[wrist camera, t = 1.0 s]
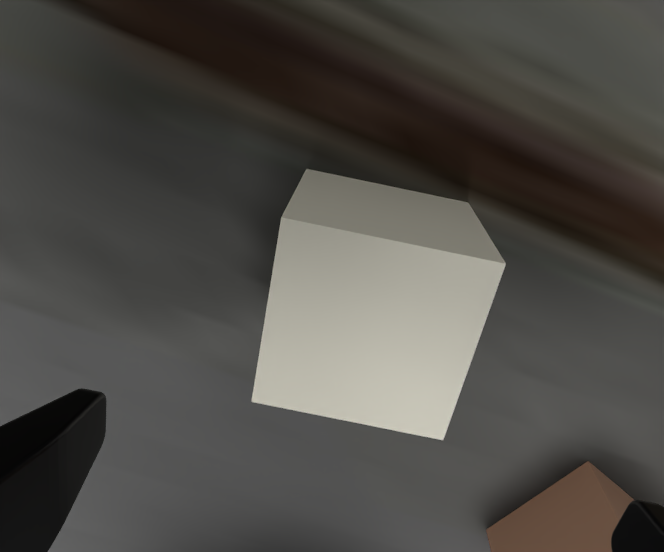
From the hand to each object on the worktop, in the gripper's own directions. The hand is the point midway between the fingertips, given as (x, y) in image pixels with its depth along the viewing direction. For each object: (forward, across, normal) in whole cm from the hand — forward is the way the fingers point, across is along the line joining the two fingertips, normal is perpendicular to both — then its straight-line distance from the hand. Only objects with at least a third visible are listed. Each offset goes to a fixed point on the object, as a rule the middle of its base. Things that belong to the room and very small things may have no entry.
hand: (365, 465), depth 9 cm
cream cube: (+9, 0, 0) cm, 9 cm away
